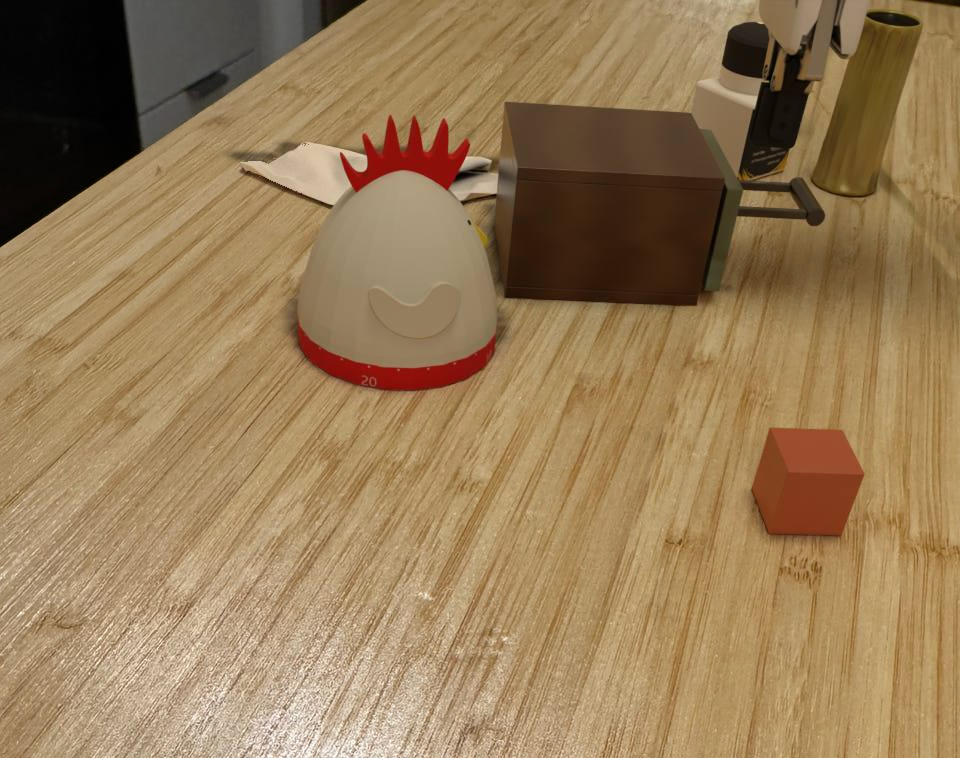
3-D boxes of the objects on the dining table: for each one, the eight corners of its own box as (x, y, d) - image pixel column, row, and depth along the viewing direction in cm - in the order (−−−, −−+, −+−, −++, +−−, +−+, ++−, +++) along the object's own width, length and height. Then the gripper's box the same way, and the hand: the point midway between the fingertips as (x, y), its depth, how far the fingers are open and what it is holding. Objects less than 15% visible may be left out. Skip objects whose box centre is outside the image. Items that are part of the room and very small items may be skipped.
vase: (883, 182, 108) (936, 17, 98) (865, 203, 104) (918, 33, 94) (822, 165, 110) (868, 2, 100) (802, 185, 106) (847, 17, 96)
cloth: (213, 195, 95) (211, 168, 93) (264, 136, 105) (262, 111, 103) (520, 241, 93) (523, 213, 91) (543, 177, 103) (545, 151, 101)
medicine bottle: (736, 186, 105) (769, 45, 96) (680, 159, 108) (706, 21, 100) (785, 171, 108) (821, 34, 100) (729, 145, 112) (759, 11, 104)
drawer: (780, 230, 96) (805, 134, 91) (816, 296, 88) (847, 194, 82) (530, 217, 94) (541, 119, 89) (543, 283, 86) (556, 179, 80)
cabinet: (667, 232, 96) (691, 112, 90) (696, 306, 87) (725, 178, 80) (494, 224, 95) (504, 101, 88) (504, 297, 86) (517, 167, 79)
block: (821, 490, 71) (842, 429, 68) (842, 536, 68) (865, 474, 64) (751, 488, 70) (769, 426, 67) (768, 534, 67) (788, 471, 64)
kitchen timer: (514, 386, 77) (538, 161, 66) (308, 394, 74) (301, 162, 64) (473, 288, 87) (489, 79, 76) (290, 292, 84) (281, 76, 73)
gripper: (943, -119, 68) (847, 187, 80) (868, -167, 78) (793, 110, 91) (821, -131, 67) (744, 180, 80) (762, -177, 78) (702, 104, 90)
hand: (770, 142), depth 85 cm, fingers closed
